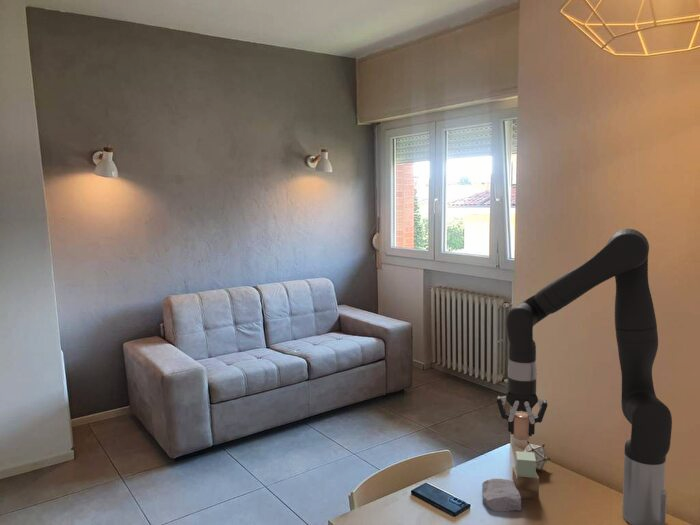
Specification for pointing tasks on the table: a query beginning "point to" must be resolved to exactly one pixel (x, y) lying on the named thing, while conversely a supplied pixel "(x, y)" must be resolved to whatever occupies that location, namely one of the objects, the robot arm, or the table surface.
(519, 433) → the terracotta cylinder
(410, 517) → the table surface
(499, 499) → the stone block
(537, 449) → the white knobbed polyhedron
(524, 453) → the sage cube
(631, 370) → the robot arm
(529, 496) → the walnut cube
